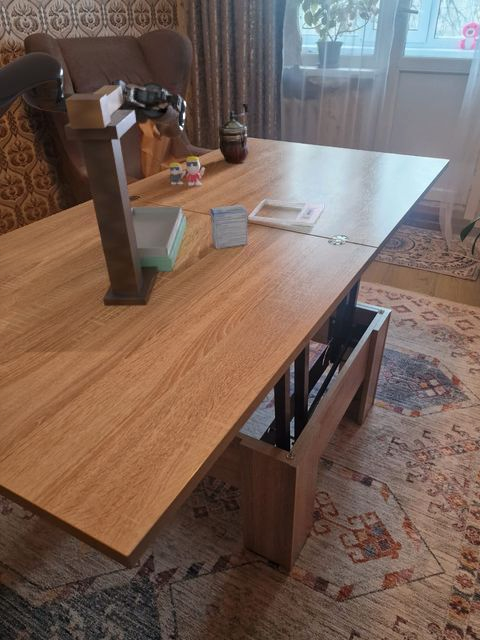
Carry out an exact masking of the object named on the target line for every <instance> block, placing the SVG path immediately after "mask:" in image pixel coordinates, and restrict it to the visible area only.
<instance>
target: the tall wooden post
mask: <svg viewBox="0 0 480 640" xmlns="http://www.w3.org/2000/svg"><path fill="white" fill-rule="evenodd" d="M110 119H111V122H110V123H109V124H108V125H107V126H106V128H99V129H71V125H70V122H68V123H67V124H66V125H65V124H64V127H63V128H64V131H65V135H66V140H67V141H79V142H80V146H81V151H82V155H83V161H84V166H85V170H86V174H87V179H88V184H89V189H90V194H91V198H92V204H93V209H94V213H95V218H96V222H97V226H98V231H99V236H100V241H101V245H102V246H101V247H102V250H103V255H104V260H106V261H105V265H107V266H106V270H108V271H107V274H108V279H109V284H110V285H109V287H108V289H107V291H106V293H105V295H104V296H103V299H102V300H103V304H104V306H106V307H107V306H147V303H148V300H149V298H150V296H151V292H152V290H153V287H154V284H155V281H156V279H157V276H158V273H159V271H158V270H157V266H149V267H141V265H140V259H139V253H138V247H137V241H136V235H135V229H134V223H133V217H132V211H131V208H132V206H131V199H130V195H129V194H130V193H129V187H128V182H127V181H128V180H127V175H126V169H125V164H124V158H123V152H122V146H121V140H120V138H122V137H123V136H124V135H125V133H126V132H127V131H128V130H129V129H131V128H132V127H133V126H134V125H135V124H136V118H135V111H134V110H116V111H115V112H114V113H113V114H112V115H111V116H110Z"/></svg>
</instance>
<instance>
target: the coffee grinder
mask: <svg viewBox="0 0 480 640" xmlns="http://www.w3.org/2000/svg"><path fill="white" fill-rule="evenodd" d="M242 107H244V111H243V112H241V113H239V114H234V113H235V111H232V110H231V111H229V113H230V115H229V120H228V121H226V122H225V123H224V124H222V125H219V126H218V136H219V152H220V153H221V155H222V157H223V158H224V160H225V162H227V163H232V164H241V163H245V162H246V159H247V158H248V155H249V152H250V150H249V142H248V131H247V129H248V127H247V126H246V125H244V124H241V123H240V122H238V121H237V120H235V119H236V118H238V117H241V116H243V115H245V114H249V107H250V103H242Z"/></svg>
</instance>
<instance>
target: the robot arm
mask: <svg viewBox="0 0 480 640" xmlns="http://www.w3.org/2000/svg"><path fill="white" fill-rule="evenodd" d="M64 75H65V74H64V67H63V65H62V63H61V62H60V60H59V59H58V58H57V57H55V56H54V55H52V54H50V53H46V52H40V51H39V52H37V51H35V52H30V53H27V54H24V55H22V56H19V57H18V58H16V59H14V60H12V61H10V62H9V63H7V64H5V65H3V66H1V67H0V121H1V120H2V119H3V118H4V116H6V114H7V113H8V112H9V111H10V109H11V108H12V107H13V105H14V104H15V103H16V101H17V100H18V99H19V98H20V97H22V99H23V100H24V101H25V103H27V104H28V105H29V106H31V107H33V108H35V109H39V110H41V111H47V112H54V113H66V114H68V111H67V107H66V102H65V99H67V98H69V97H70V96H72V95H74V94H75V93H74V92H73V93H72V92H68V91H64ZM111 85H121V88H122V95H123V101H124V103H123V104H122V105H121V106H120V107H119V108H118V109H117V110H134V111H135V118H136V122H135V124H136V123H137V124H141V125H144V124H147V123H148V121H151V122H152V123H154V126H155V128H156V130H157V132H158V133H159V134H160V135H161V136H163V137H165V138H167V139H173V140H174V139H178V138H180V137H182V135H183V133H184V131H185V122H186V116H187V105H188V104H187V101H186V100H185V99H184V98H183V97H182V96H180V94H178V93H173V94H172V93H170V92H169V91H168V90H167V89H166V88H165V87H164V86H162V85H161V84H159V83H157V82H148V83H144V84H143V85H141V86H140V85H137V84H134V83H128V84H127V83H125V82H124V81H123V80H121V79H116V81H115V80H113V81H111ZM96 91H97V90H95V91H91V92H84V94H93V93H95V92H96Z"/></svg>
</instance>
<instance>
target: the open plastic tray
mask: <svg viewBox="0 0 480 640" xmlns="http://www.w3.org/2000/svg"><path fill="white" fill-rule="evenodd" d="M131 211H132V217H133V223H134V229H135V235H136V241H137V247H138V253H139V259H140V265H141V267H149V266H157V270H158V272H173V270H174V267H175V263H176V259H177V257H178V255H179V254H178V253H179V250H180V247H181V244H182V241H183V238H184V234H185V231H186V229H187V218H186V217H187V216H186V214H185V213H184V212H183V206H131ZM104 260H105V259H104ZM105 262H106V260H105ZM105 265H106V264H105ZM106 267H107V265H106ZM106 270H107V269H106ZM107 272H108V270H107Z"/></svg>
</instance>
